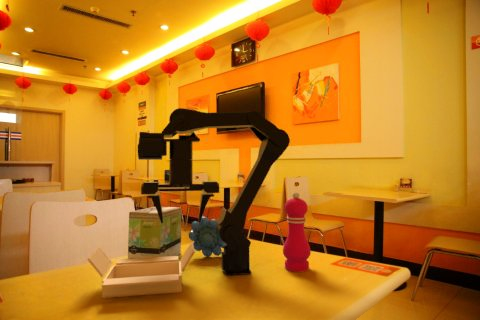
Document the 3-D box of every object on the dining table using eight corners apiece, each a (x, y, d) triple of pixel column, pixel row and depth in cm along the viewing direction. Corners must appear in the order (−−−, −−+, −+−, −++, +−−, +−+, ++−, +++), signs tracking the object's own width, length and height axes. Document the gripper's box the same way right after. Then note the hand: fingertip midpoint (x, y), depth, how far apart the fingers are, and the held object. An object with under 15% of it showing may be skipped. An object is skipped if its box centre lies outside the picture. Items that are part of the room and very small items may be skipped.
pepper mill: (279, 270, 82) (279, 192, 83) (286, 263, 89) (285, 191, 90) (308, 274, 80) (307, 193, 80) (312, 265, 86) (311, 191, 87)
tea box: (160, 267, 86) (160, 212, 86) (126, 265, 88) (127, 211, 88) (182, 253, 100) (182, 206, 101) (152, 251, 102) (152, 205, 103)
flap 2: (180, 258, 79) (182, 259, 79) (181, 270, 69) (183, 271, 69) (191, 241, 79) (192, 242, 79) (193, 251, 70) (194, 252, 70)
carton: (181, 270, 83) (181, 255, 83) (182, 298, 65) (182, 279, 65) (115, 275, 80) (115, 259, 80) (97, 305, 62) (97, 285, 62)
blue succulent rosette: (187, 261, 91) (187, 219, 92) (189, 255, 98) (189, 215, 98) (227, 260, 92) (227, 218, 92) (227, 254, 99) (227, 215, 99)
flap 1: (99, 246, 75) (98, 247, 75) (88, 257, 66) (86, 259, 66) (112, 262, 76) (111, 263, 75) (103, 276, 66) (101, 277, 66)
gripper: (214, 160, 90) (214, 216, 90) (145, 160, 87) (145, 218, 86) (219, 159, 79) (219, 222, 79) (141, 159, 76) (140, 225, 75)
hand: (181, 222), depth 80 cm, fingers open, 9 cm apart
